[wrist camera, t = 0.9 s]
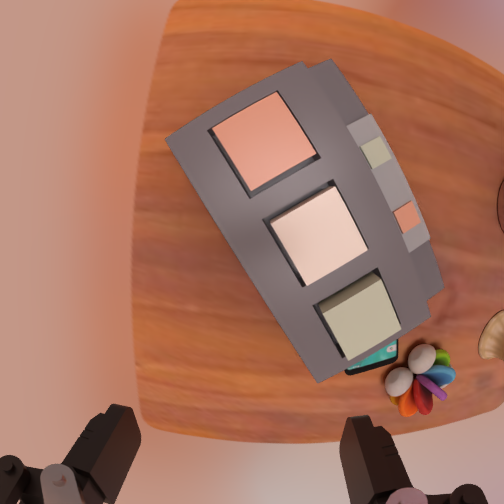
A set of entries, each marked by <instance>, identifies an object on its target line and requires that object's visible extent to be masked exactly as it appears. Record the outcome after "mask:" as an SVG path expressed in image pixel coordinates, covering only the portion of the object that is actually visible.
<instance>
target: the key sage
mask: <svg viewBox="0 0 504 504" xmlns="http://www.w3.org/2000/svg"><path fill="white" fill-rule="evenodd" d="M318 305H319V307H320V309H321V312H322V314H323V316H324V317H325V319H326V321H327V323H328V325H329V326H330V328H331V330H332V332H333V334H334V335H335V337H336V339H337V341H338V343H339V345H340V346H341V348H342V350H343V352H344V354H345V356H346V357H347V359H348V361H349V360H351V359H352V358H354V357H356V356H358V355H360V354H361V353H363V352H365V351H367V350H368V349H370V348H372V347H373V346H375V345H377V344H378V343H380V342H382V341H383V340H385V339H387V338H388V337H390V336H392V335H393V334H395V333H396V332H398V331H399V330H401V327H400V324H399V321H398V319H397V316H396V314H395V311H394V309H393V306H392V304H391V301H390V299H389V297H388V294H387V292H386V289H385V287H384V285H383V282H382V280H381V279H380V278H379V277H378V276H377V275H375V274H374V273H373V272H372V271H371V272H370V273H368V274H366V275H365V276H363V277H361V278H360V279H358V280H356V281H355V282H353V283H351V284H350V285H348V286H346V287H345V288H343V289H341V290H340V291H338V292H336V293H334V294H333V295H331V296H329V297H327V298H326V299H324V300H322V301H320V302H319V303H318Z"/></svg>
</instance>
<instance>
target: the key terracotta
mask: <svg viewBox="0 0 504 504" xmlns="http://www.w3.org/2000/svg"><path fill="white" fill-rule="evenodd" d="M212 129H213V131H214V132H215V134H216V136H217V137H218V139H219V140H220V142H221V143H222V145H223V147H224V148H225V150H226V151H227V153H228V155H229V156H230V158H231V159H232V161H233V163H234V164H235V166H236V168H237V169H238V171H239V172H240V174H241V176H242V177H243V179H244V181H245V182H246V184H247V185H248V187H249V189H250V190H251V191H253V190H254V189H256V188H258V187H259V186H261V185H263V184H265V183H266V182H268V181H270V180H271V179H273V178H275V177H277V176H278V175H280V174H282V173H283V172H285V171H287V170H289V169H290V168H292V167H294V166H296V165H298V164H299V163H301V162H303V161H305V160H306V159H308V158H310V157H312V156H313V155H315V154H316V152H315V150H314V149H313V147H312V145H311V144H310V142H309V140H308V139H307V137H306V136H305V134H304V132H303V131H302V129H301V128H300V126H299V125H298V123H297V121H296V120H295V118H294V117H293V115H292V114H291V112H290V111H289V109H288V108H287V106H286V105H285V103H284V102H283V100H282V99H281V97H280V96H279V94H278V93H277V92H275V93H273V94H271V95H269V96H268V97H266V98H264V99H262V100H260V101H258V102H256V103H254V104H253V105H251V106H249V107H247V108H245V109H244V110H242V111H240V112H238V113H237V114H235V115H233V116H232V117H230V118H228V119H226V120H225V121H223V122H221V123H220V124H218V125H216V126H215V127H213V128H212Z"/></svg>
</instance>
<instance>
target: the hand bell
mask: <svg viewBox="0 0 504 504" xmlns="http://www.w3.org/2000/svg"><path fill="white" fill-rule="evenodd" d="M478 352H479V355H480V357H481V358H483V359H491V358H494V357H495V358H499V359H501V360H503V361H504V310H503V311H500V312H499V313H497V314H496V315H495V316H494V317H493V318H492V319H491V320H490V321H489V323H488V324H487V325H486V327H485V329H484V331H483V333H482V335H481V338H480V341H479V345H478Z"/></svg>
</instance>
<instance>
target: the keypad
mask: <svg viewBox="0 0 504 504" xmlns="http://www.w3.org/2000/svg"><path fill="white" fill-rule="evenodd" d="M275 92H277V93H278V94H279V96H280V97H281V99H282V100H283V102H284V103H285V105H286V106H287V108H288V109H289V111H290V112H291V114H292V115H293V117H294V118H295V120H296V121H297V123H298V125H299V126H300V128H301V129H302V131H303V132H304V134H305V136H306V137H307V139H308V140H309V142H310V144H311V145H312V147H313V149H314V150H315V152H316V154H315V155H313V156H312V157H310V158H308V159H306V160H305V161H303V162H301V163H299V164H298V165H296V166H294V167H292V168H290V169H289V170H287V171H285V172H283V173H282V174H280V175H278V176H277V177H275V178H273V179H271V180H270V181H268V182H266V183H265V184H263V185H261V186H259V187H258V188H256V189H254V190H253V191H251V190H250V189H249V187H248V185H247V184H246V182H245V181H244V179H243V177H242V176H241V174H240V172H239V171H238V169H237V168H236V166H235V164H234V163H233V161H232V159H231V158H230V156H229V155H228V153H227V151H226V150H225V148H224V147H223V145H222V143H221V142H220V140H219V139H218V137H217V136H216V134H215V132H214V131H213V129H212V128H213V127H215V126H216V125H218V124H220V123H221V122H223V121H225V120H226V119H228V118H230V117H232V116H233V115H235V114H237V113H238V112H240V111H242V110H244V109H245V108H247V107H249V106H251V105H253V104H254V103H256V102H258V101H260V100H262V99H264V98H266V97H268V96H269V95H271V94H273V93H275ZM165 141H166V142H167V144H168V146H169V147H170V149H171V151H172V152H173V154H174V156H175V157H176V159H177V161H178V162H179V164H180V166H181V167H182V169H183V170H184V172H185V174H186V175H187V177H188V179H189V180H190V182H191V184H192V185H193V187H194V189H195V190H196V192H197V193H198V195H199V197H200V198H201V200H202V202H203V203H204V205H205V207H206V208H207V210H208V211H209V213H210V215H211V216H212V218H213V220H214V221H215V223H216V224H217V226H218V228H219V229H220V231H221V232H222V234H223V236H224V237H225V239H226V241H227V242H228V244H229V245H230V247H231V249H232V250H233V252H234V253H235V255H236V257H237V258H238V260H239V261H240V263H241V265H242V266H243V268H244V269H245V271H246V273H247V274H248V276H249V277H250V279H251V281H252V282H253V284H254V285H255V287H256V288H257V290H258V292H259V293H260V295H261V296H262V298H263V299H264V301H265V303H266V304H267V306H268V307H269V309H270V310H271V312H272V314H273V315H274V317H275V318H276V320H277V321H278V323H279V325H280V326H281V328H282V329H283V331H284V332H285V334H286V336H287V337H288V339H289V340H290V342H291V343H292V345H293V346H294V348H295V349H296V351H297V353H298V354H299V356H300V357H301V359H302V360H303V362H304V363H305V365H306V366H307V368H308V370H309V371H310V373H311V374H312V376H313V377H314V379H315V380H316V382H317V383H320V382H322V381H324V380H326V379H328V378H330V377H332V376H334V375H335V374H337V373H339V372H341V371H343V370H345V369H347V368H349V367H351V366H352V365H354V364H356V363H358V362H360V361H361V360H363V359H365V358H367V357H368V356H370V355H372V354H374V353H375V352H377V351H379V350H380V349H382V348H384V347H385V346H387V345H389V344H390V343H392V342H393V341H395V340H397V339H398V338H400V337H401V336H403V335H405V334H406V333H408V332H409V331H411V330H412V329H414V328H415V327H417V326H418V325H420V324H421V323H422V322H424V321H425V320H427V319H428V318H430V317H431V314H430V311H429V308H428V305H427V300H428V299H430V298H431V297H432V296H434V295H435V294H437V293H438V292H439V291H441V290H442V289H443V288H445V287H444V284H443V281H442V277H441V274H440V271H439V268H438V265H437V262H436V259H435V256H434V253H433V250H432V247H431V244H430V241H429V239H430V235H429V232H428V230H427V227H426V224H425V222H424V219H423V217H422V214H421V212H420V210H419V207H418V205H417V202H416V200H415V198H414V196H413V193H412V191H411V189H410V187H409V184H408V182H407V180H406V178H405V176H404V174H403V172H402V170H401V168H400V166H399V164H398V162H397V160H396V158H395V156H394V154H393V152H392V150H391V148H390V146H389V144H388V142H387V141H386V139H385V137H384V135H383V133H382V132H381V130H380V128H379V126H378V125H377V123H376V121H375V119H374V118H373V116H372V114H368V112H367V111H366V109H365V107H364V106H363V104H362V103H361V101H360V100H359V98H358V96H357V95H356V93H355V92H354V90H353V89H352V87H351V86H350V84H349V83H348V81H347V80H346V78H345V77H344V76H343V74H342V73H341V71H340V70H339V69H338V67H337V66H336V64H335V63H334V62H333V60H332V59H329V60H326V61H324V62H322V63H319V64H317V65H315V66H312V67H310V68H307V67H306V65H305V64H304V63H303V61H301V62H299V63H297V64H295V65H292V66H290V67H288V68H286V69H284V70H282V71H280V72H278V73H275V74H273V75H271V76H269V77H267V78H265V79H263V80H262V81H260V82H258V83H256V84H254V85H252V86H250V87H248V88H246V89H245V90H243V91H241V92H239V93H237V94H235V95H234V96H232V97H230V98H228V99H227V100H225V101H223V102H222V103H220V104H218V105H216V106H215V107H213V108H211V109H210V110H208V111H207V112H205V113H203V114H202V115H200V116H199V117H197V118H195V119H194V120H192V121H191V122H189V123H188V124H186V125H185V126H183V127H182V128H180V129H179V130H177V131H176V132H174V133H173V134H171V135H170V136H168V137H167V138H165ZM328 186H335V187H336V189H337V190H338V192H339V194H340V196H341V198H342V200H343V202H344V203H345V205H346V207H347V209H348V211H349V213H350V215H351V217H352V219H353V221H354V223H355V225H356V227H357V229H358V231H359V233H360V235H361V237H362V239H363V241H364V243H365V245H366V247H367V249H368V250H367V251H366V252H364V253H362V254H361V255H359V256H357V257H356V258H354V259H352V260H351V261H349V262H347V263H346V264H344V265H342V266H341V267H339V268H337V269H336V270H334V271H332V272H330V273H329V274H327V275H325V276H324V277H322V278H320V279H318V280H317V281H315V282H313V283H311V284H310V285H308V286H307V285H306V284H305V282H304V280H303V278H302V277H301V275H300V273H299V271H298V270H297V268H296V266H295V264H294V263H293V261H292V259H291V258H290V256H289V254H288V252H287V251H286V249H285V247H284V246H283V244H282V242H281V240H280V239H279V237H278V235H277V234H276V232H275V230H274V229H273V227H272V225H271V223H270V220H271V219H273V218H275V217H277V216H278V215H280V214H282V213H283V212H285V211H287V210H289V209H290V208H292V207H294V206H295V205H297V204H299V203H301V202H302V201H304V200H306V199H308V198H309V197H311V196H313V195H314V194H316V193H318V192H320V191H321V190H323V189H325V188H327V187H328ZM371 271H372V272H373V273H374V274H375V275H377V276H378V277H379V278H380V279H381V280H382V282H383V285H384V287H385V289H386V292H387V294H388V297H389V299H390V301H391V304H392V306H393V309H394V311H395V314H396V316H397V319H398V321H399V324H400V327H401V330H399V331H398V332H396V333H395V334H393V335H392V336H390V337H388V338H387V339H385V340H383V341H382V342H380V343H378V344H377V345H375V346H373V347H372V348H370V349H368V350H367V351H365V352H363V353H361V354H360V355H358V356H356V357H354V358H352V359H351V360H349V361H348V359H347V357H346V356H345V354H344V352H343V350H342V348H341V346H340V345H339V343H338V341H337V339H336V337H335V335H334V334H333V332H332V330H331V328H330V326H329V325H328V323H327V321H326V319H325V317H324V316H323V314H322V312H321V309H320V307H319V305H318V303H319V302H320V301H322V300H324V299H326V298H327V297H329V296H331V295H333V294H334V293H336V292H338V291H340V290H341V289H343V288H345V287H346V286H348V285H350V284H351V283H353V282H355V281H356V280H358V279H360V278H361V277H363V276H365V275H366V274H368V273H370V272H371Z"/></svg>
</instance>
